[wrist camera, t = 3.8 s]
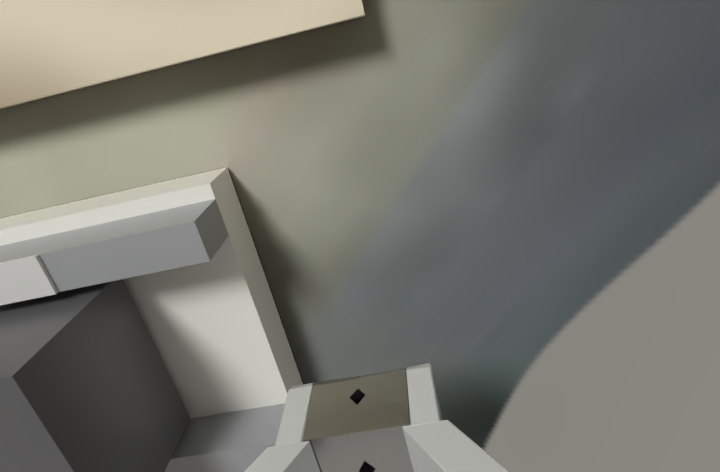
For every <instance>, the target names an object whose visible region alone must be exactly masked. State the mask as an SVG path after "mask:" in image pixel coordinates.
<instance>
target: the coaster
mask: <svg viewBox="0 0 720 472" xmlns="http://www.w3.org/2000/svg"><path fill="white" fill-rule="evenodd" d="M364 16H365V12H364V7H363V2H362V0H0V109H4V108H8V107H12V106H15V105H19V104H23V103H27V102H31V101H35V100H39V99H43V98H47V97H51V96H55V95H59V94H62V93H66V92H70V91H74V90H78V89H82V88H86V87H90V86H94V85H98V84H102V83H105V82H109V81H113V80H117V79H121V78H125V77H129V76H133V75H137V74H141V73H145V72H148V71H152V70H156V69H160V68H164V67H168V66H172V65H176V64H180V63H184V62H188V61H192V60H195V59H199V58H203V57H207V56H211V55H215V54H219V53H223V52H227V51H231V50H235V49H238V48H242V47H246V46H250V45H254V44H258V43H262V42H266V41H270V40H274V39H278V38H281V37H285V36H289V35H293V34H297V33H301V32H305V31H309V30H313V29H317V28H321V27H325V26H328V25H332V24H336V23H340V22H344V21H348V20H352V19H356V18H360V17H364Z"/></svg>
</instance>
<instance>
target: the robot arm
mask: <svg viewBox="0 0 720 472" xmlns="http://www.w3.org/2000/svg"><path fill="white" fill-rule="evenodd" d="M244 472H509V471H508V470H506V469H505V468H504V467H503V466H502V465H501V464H499V463H498V462H497V461H496V460H494V459H493V458H492V457H491V456H490V455H489V454H488V453H486V452H485V451H484V450H483V449H482V448H481V447H479V446H478V445H477V444H476V443H475V442H474V441H472V440H471V439H470V438H469V437H468V436H466V435H465V434H464V433H463V432H462V431H461V430H459V429H458V428H457V427H456V426H455V425H454V424H452V423H451V422H450V421H449V420H443V419H442V414H441V409H440V405H439V400H438V395H437V390H436V386H435V381H434V376H433V371H432V367H431V364H430V363H426V364H421V365H416V366H411V367H407V368H405V369H399V370H393V371H387V372H381V373H376V374H370V375H364V376H356V377H349V378H342V379H335V380H328V381H321V382H315V383H309V384H303V385H296V386H292V387H291V388H290V389H289V391H288V394H287V398H286V402H285V406H284V410H283V414H282V418H281V422H280V426H279V430H278V434H277V438H276V442H275V446H272V447H267V448H266V450H265V451H264V452H263V453H262V454H261V455H260V456H259V457H258V458H257V459H256V460H255V461H254V462H253V463H252V464H251V465H250V466H249V467H248V468H247V469H246V470H245V471H244Z"/></svg>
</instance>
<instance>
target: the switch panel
mask: <svg viewBox="0 0 720 472" xmlns="http://www.w3.org/2000/svg"><path fill="white" fill-rule="evenodd" d="M121 279H123V280H124V282H125V284H126V286H127V288H128V290H129V292H130V294H131V296H132V298H133V300H134V302H135V304H136V306H137V308H138V311H139V313H140V315H141V317H142V319H143V321H144V323H145V325H146V327H147V329H148V331H149V333H150V335H151V337H152V340H153V342H154V344H155V346H156V348H157V350H158V352H159V354H160V356H161V358H162V360H163V362H164V364H165V366H166V368H167V371H168V373H169V375H170V377H171V379H172V381H173V383H174V385H175V387H176V389H177V391H178V393H179V395H180V397H181V399H182V402H183V404H184V406H185V408H186V410H187V412H188V414H189V416H190V419H189V421H188V423H187V425H186V427H185V430H184V432H183V434H182V436H181V438H180V440H179V442H178V444H177V446H176V448H175V451H174V453H173V455H172V457H171V459H170V461H169V463H168V465H167V467H166V470H165V472H244V471H245V470H246V469H247V468H248V467H249V466H250V465H251V464H252V463H253V462H254V461H255V460H256V459H257V458H258V457H259V456H260V455H261V454H262V453H263V452H264V451H265V450H266V448H267V447H272V446H275V442H276V438H277V434H278V430H279V426H280V422H281V418H282V414H283V410H284V406H285V402H286V398H287V394H288V391H289V389H290V388H291V387H292V386H296V385H303V383H302V380H301V377H300V374H299V371H298V368H297V365H296V363H295V360H294V357H293V354H292V351H291V348H290V345H289V342H288V340H287V337H286V334H285V331H284V328H283V325H282V322H281V320H280V317H279V314H278V311H277V308H276V305H275V302H274V300H273V297H272V294H271V291H270V288H269V285H268V282H267V280H266V277H265V274H264V271H263V268H262V265H261V262H260V260H259V257H258V254H257V251H256V248H255V245H254V242H253V239H252V237H251V234H250V231H249V228H248V225H247V222H246V219H245V217H244V214H243V211H242V208H241V205H240V202H239V199H238V197H237V194H236V191H235V188H234V185H233V182H232V179H231V177H230V174H229V171H228V168H227V167H226V168H222V169H218V170H213V171H209V172H204V173H200V174H195V175H191V176H187V177H182V178H178V179H173V180H169V181H164V182H160V183H156V184H151V185H147V186H142V187H138V188H133V189H129V190H125V191H120V192H116V193H111V194H107V195H102V196H98V197H94V198H89V199H85V200H80V201H76V202H71V203H67V204H63V205H58V206H54V207H49V208H45V209H41V210H36V211H32V212H27V213H23V214H18V215H14V216H10V217H5V218H1V219H0V305H5V304H10V303H15V302H20V301H25V300H30V299H35V298H40V297H45V296H50V295H55V294H57V293H58V292H62V291H66V290H71V289H76V288H81V287H86V286H91V285H96V284H101V283H106V282H111V281H116V280H121Z"/></svg>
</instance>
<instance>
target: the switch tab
mask: <svg viewBox="0 0 720 472" xmlns="http://www.w3.org/2000/svg"><path fill="white" fill-rule="evenodd" d="M189 419H190V416H189V414H188V412H187V410H186V408H185V406H184V404H183V402H182V399H181V397H180V395H179V393H178V391H177V389H176V387H175V385H174V383H173V381H172V379H171V377H170V375H169V373H168V371H167V368H166V366H165V364H164V362H163V360H162V358H161V356H160V354H159V352H158V350H157V348H156V346H155V344H154V342H153V340H152V337H151V335H150V333H149V331H148V329H147V327H146V325H145V323H144V321H143V319H142V317H141V315H140V313H139V311H138V308H137V306H136V304H135V302H134V300H133V298H132V296H131V294H130V292H129V290H128V288H127V286H126V284H125V282H124V280H123V279H121V280H116V281H111V282H106V283H101V284H96V285H91V286H86V287H81V288H76V289H71V290H66V291H62V292H58V293H57V294H55V295H50V296H45V297H40V298H35V299H30V300H25V301H20V302H15V303H10V304H5V305H0V472H165V470H166V467H167V465H168V463H169V461H170V459H171V457H172V455H173V453H174V451H175V448H176V446H177V444H178V442H179V440H180V438H181V436H182V434H183V432H184V430H185V427H186V425H187V423H188V421H189Z"/></svg>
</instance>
